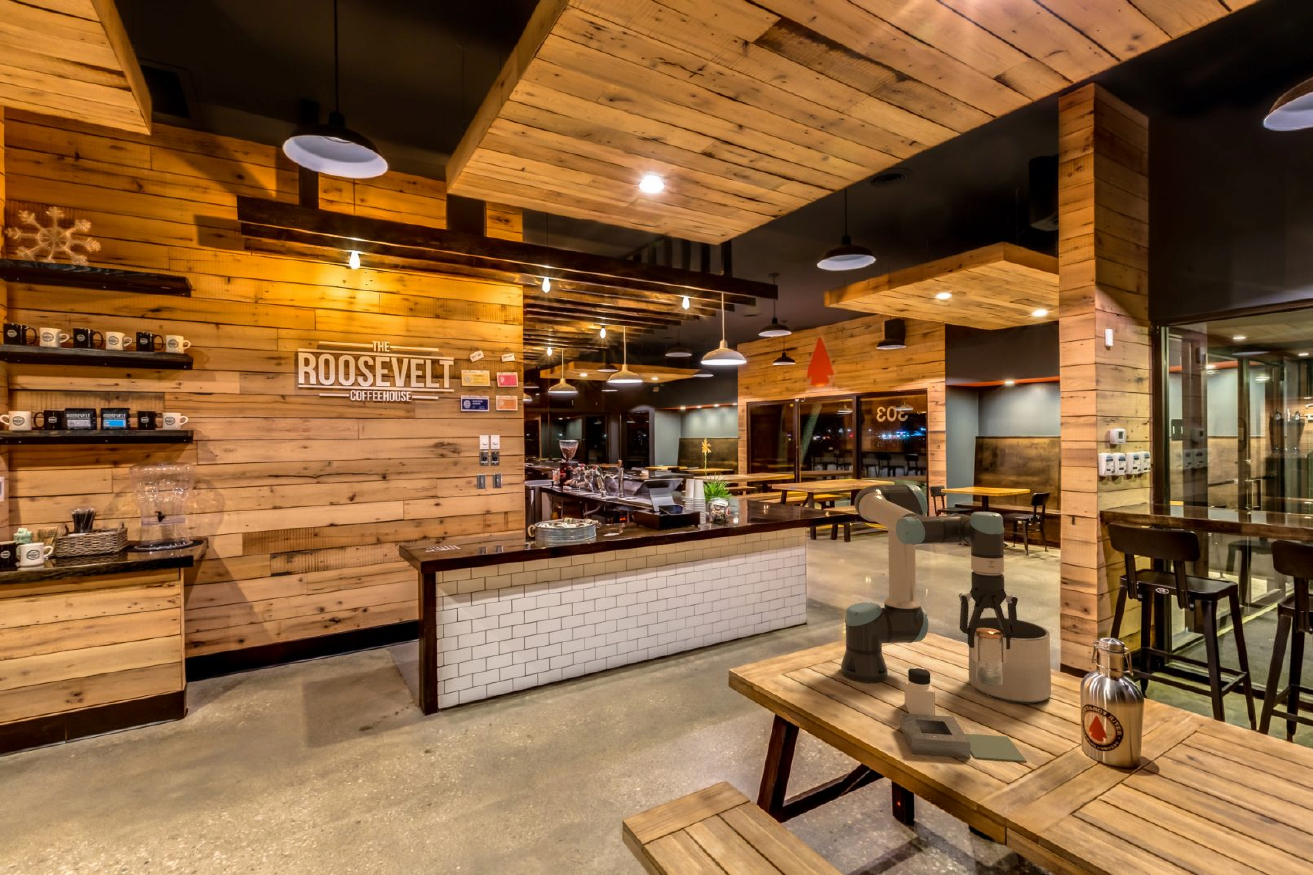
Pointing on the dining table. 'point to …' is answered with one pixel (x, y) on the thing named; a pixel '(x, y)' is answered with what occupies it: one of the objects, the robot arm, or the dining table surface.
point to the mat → (994, 748)
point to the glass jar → (989, 657)
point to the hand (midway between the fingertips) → (988, 660)
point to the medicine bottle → (919, 692)
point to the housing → (934, 735)
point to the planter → (1019, 665)
